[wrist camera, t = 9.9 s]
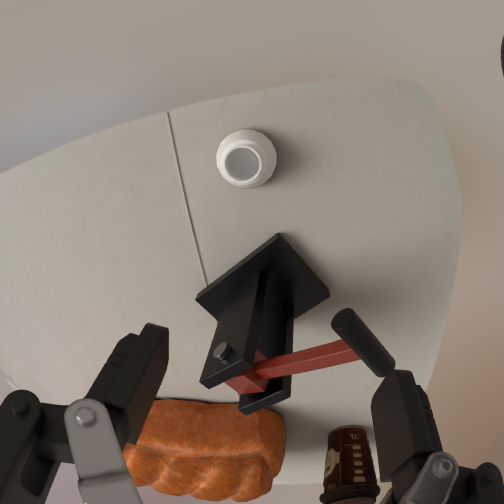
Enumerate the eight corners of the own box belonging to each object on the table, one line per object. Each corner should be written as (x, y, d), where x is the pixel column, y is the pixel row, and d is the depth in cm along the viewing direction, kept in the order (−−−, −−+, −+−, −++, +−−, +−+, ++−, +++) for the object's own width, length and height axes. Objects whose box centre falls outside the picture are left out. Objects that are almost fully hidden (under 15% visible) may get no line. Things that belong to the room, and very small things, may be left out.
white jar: (210, 173, 28) (263, 194, 28) (202, 181, 25) (260, 204, 26) (230, 120, 26) (285, 142, 26) (223, 123, 23) (285, 147, 23)
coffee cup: (324, 450, 46) (324, 516, 35) (314, 427, 43) (313, 503, 31) (375, 441, 44) (382, 507, 32) (371, 416, 41) (380, 492, 29)
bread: (91, 384, 46) (57, 443, 34) (283, 401, 40) (276, 485, 29) (125, 435, 52) (103, 487, 41) (288, 452, 47) (282, 518, 36)
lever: (356, 297, 16) (349, 332, 15) (397, 348, 18) (393, 382, 16) (219, 344, 24) (206, 368, 22) (262, 379, 25) (252, 403, 24)
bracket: (278, 232, 30) (267, 320, 18) (329, 289, 32) (341, 389, 20) (197, 293, 34) (157, 384, 23) (248, 339, 36) (229, 434, 25)
